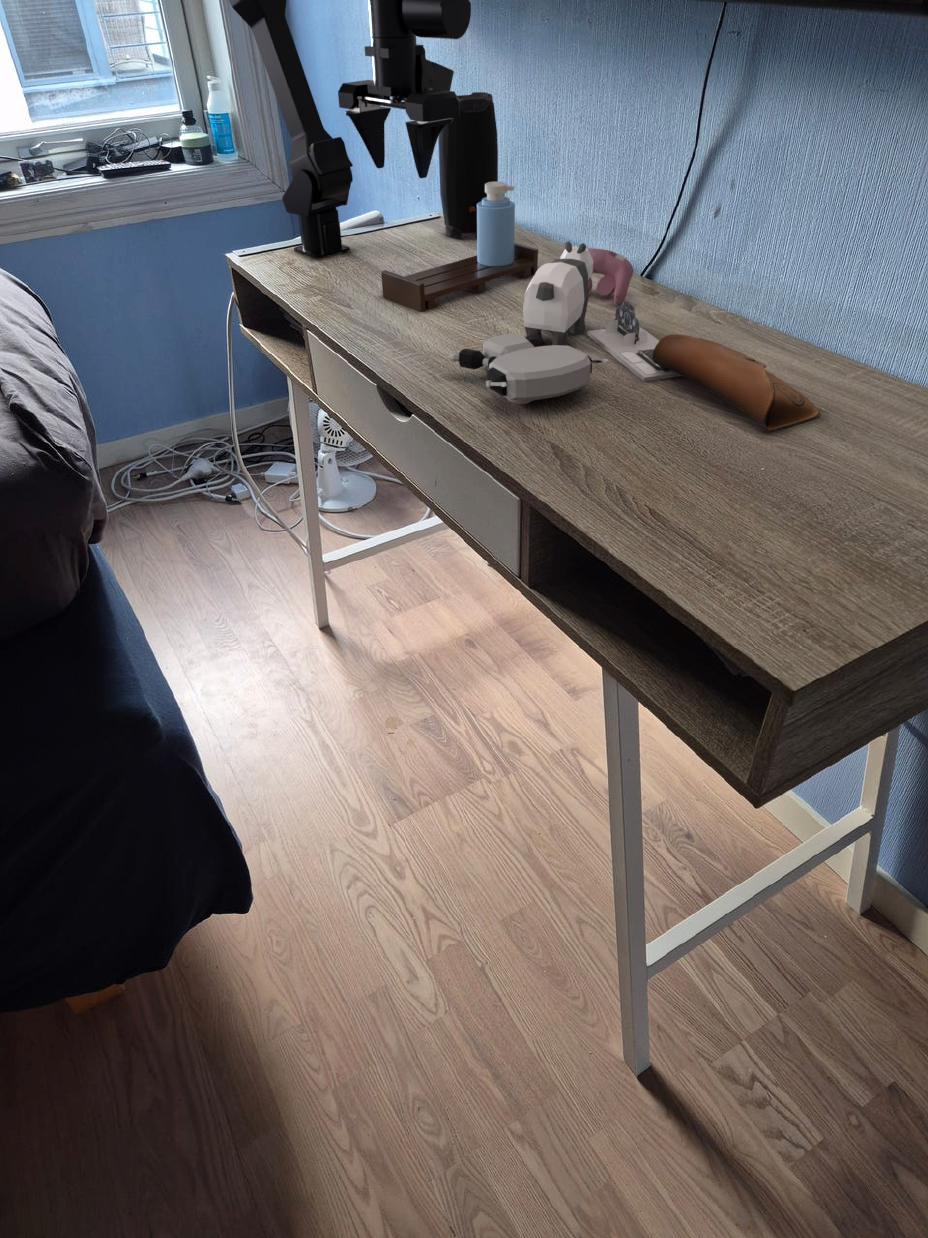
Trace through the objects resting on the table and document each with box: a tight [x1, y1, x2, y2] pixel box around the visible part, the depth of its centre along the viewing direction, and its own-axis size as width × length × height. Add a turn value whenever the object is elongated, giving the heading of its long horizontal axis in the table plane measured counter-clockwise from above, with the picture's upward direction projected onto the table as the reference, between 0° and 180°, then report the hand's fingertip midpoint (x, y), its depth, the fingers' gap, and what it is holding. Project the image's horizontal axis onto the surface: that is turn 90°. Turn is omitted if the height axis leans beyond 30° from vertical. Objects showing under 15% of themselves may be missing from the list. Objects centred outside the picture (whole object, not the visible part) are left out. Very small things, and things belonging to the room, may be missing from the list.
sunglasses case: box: [652, 333, 821, 432], centre depth 91 cm, size 18×7×7 cm, turn 28°
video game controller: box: [587, 247, 634, 307], centre depth 115 cm, size 10×5×7 cm, turn 65°
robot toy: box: [448, 333, 609, 405], centre depth 93 cm, size 12×4×15 cm
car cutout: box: [586, 300, 682, 383], centre depth 100 cm, size 15×7×4 cm, turn 18°
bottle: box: [476, 181, 516, 266], centre depth 120 cm, size 5×5×10 cm
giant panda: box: [522, 241, 594, 346], centre depth 104 cm, size 15×6×10 cm, turn 155°
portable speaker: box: [437, 91, 499, 239], centre depth 136 cm, size 9×9×20 cm
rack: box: [380, 242, 539, 312], centre depth 120 cm, size 8×22×4 cm, turn 133°
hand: (401, 172), depth 119 cm, fingers open, 9 cm apart
